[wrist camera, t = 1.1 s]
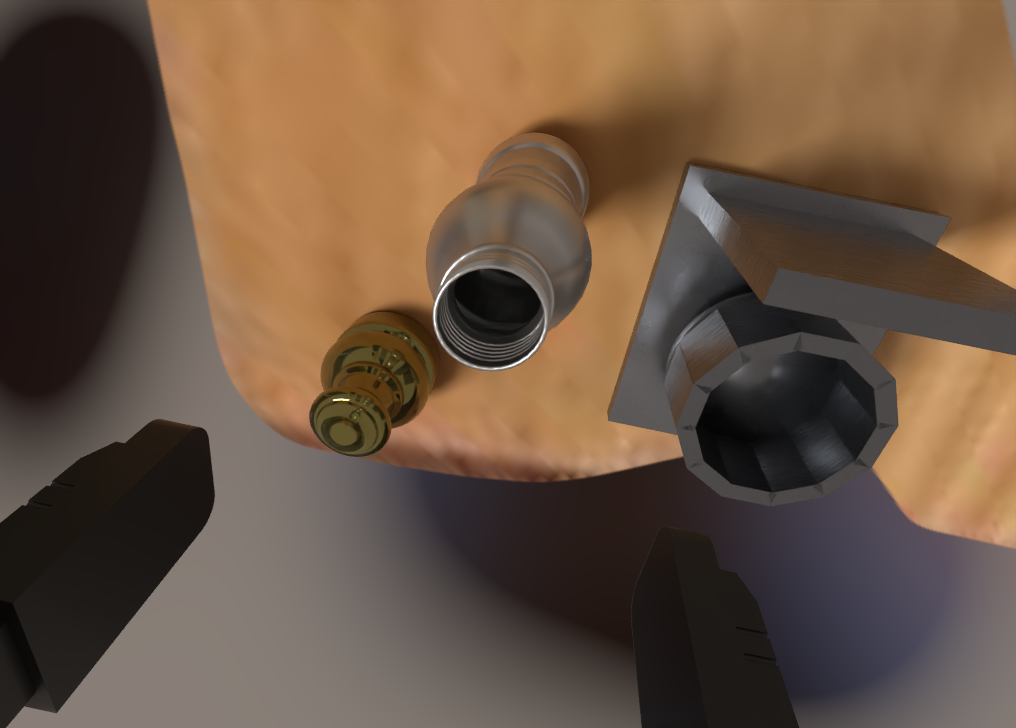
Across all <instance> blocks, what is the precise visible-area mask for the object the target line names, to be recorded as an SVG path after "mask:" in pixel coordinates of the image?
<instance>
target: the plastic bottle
mask: <svg viewBox="0 0 1016 728" xmlns="http://www.w3.org/2000/svg"><path fill="white" fill-rule="evenodd" d="M589 195H590V182H589V177H588V173H587V170H586V167H585V165H584V163H583V160H582V159H581V158H580V156H579V155H578V153H577V152H576V151H575V150H574V149H573V148H572V147H571V146H570V145H569V144H568V143H566V142H565V141H563V140H561V139H559V138H558V137H555V136H552V135H549V134H545V133H535V132H534V133H525V134H520V135H517V136H514V137H511V138H509V139H508V140H506V141H504V142H502V143H501V144H500V145H498V146H497V147H496V148H495V149H494V150H493V151H492V152H491V153H490V154H489V156H488V157H487V158H486V159H485V161H484V163H483V165H482V167H481V169H480V171H479V174H478V177H477V181H476V184H475V185H473V186H472V187H470V188H468V189H466V190H465V191H463V192H462V193H461V194H459V195H458V196H457V197H456V198H455V199H454V200H453V201H451V202H450V203H449V204H448V205H447V206H446V207H445V209H444V210H443V211H442V213H441V214H440V215H439V217H438V218H437V220H436V222H435V224H434V226H433V228H432V230H431V232H430V236H429V240H428V244H427V248H426V271H427V278H428V284H429V288H430V291H431V293H432V296H433V299H434V304H433V316H432V320H433V326H434V331H435V333H436V336H437V339H438V340H439V342H440V344H441V345H442V347H443V348H444V349H445V350H446V351H447V353H448V354H449V355H450V356H451V357H453V358H454V359H455V360H457V361H458V362H460V363H462V364H464V365H466V366H468V367H471V368H474V369H477V370H483V371H502V370H506V369H511V368H513V367H516V366H518V365H520V364H522V363H523V362H525V361H526V360H528V359H529V358H531V357H532V356H533V355H534V354H535V353H536V352H537V351H538V349H539V348H540V346H541V345H542V343H543V341H544V340H545V337H546V335H547V332H549V331H550V330H552V329H553V328H554V327H556V326H557V325H558V324H559V323H560V322H561V321H562V320H563V319H564V318H565V317H566V316H567V315H568V314H569V313H570V312H571V311H572V310H573V309H574V308H575V306H576V305H577V303H578V302H579V300H580V299H581V297H582V296H583V293H584V291H585V289H586V286H587V284H588V281H589V276H590V271H591V266H592V262H591V246H590V241H589V237H588V233H587V229H586V226H585V224H584V222H583V220H582V218H583V216H584V214H585V211H586V208H587V206H588V201H589Z"/></svg>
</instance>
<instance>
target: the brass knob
mask: <svg viewBox="0 0 1016 728" xmlns="http://www.w3.org/2000/svg"><path fill="white" fill-rule="evenodd" d="M438 370H439V354H438V350H437V347H436V345H435V343H434V341H433V339H432V337H431V336H430V335H429V333H428V332H427V331H426V330H425V329H424V328H423V327H422V326H421V325H419V324H418V323H417V322H415V321H414V320H412V319H410V318H408V317H406V316H403V315H401V314H397V313H393V312H374V313H370V314H367V315H364V316H362V317H360V318H359V319H357V320H356V321H355V322H353V323H352V324H351V325H350V327H349V328H348V329H347V330H346V331H345V332H344V333H343V334H342V335H341V336H340V337H339V338H338V340H337V342H336V343H335V344H334V345H333V346H332V347H331V348H330V349H329V350H328V352H327V353H326V355H325V357H324V359H323V362H322V366H321V383H322V387H323V390H324V392H322V393H321V394H320V395H319V396H318V397H317V398H316V399H315V400H314V402H313V404H312V406H311V409H310V413H309V420H310V425H311V428H312V430H313V432H314V434H315V435H316V437H317V438H318V439H319V440H320V441H321V442H322V443H323V444H324V445H325V446H326V447H328V448H329V449H331V450H333V451H335V452H337V453H339V454H342V455H345V456H350V457H365V456H369V455H372V454H374V453H376V452H378V451H379V450H381V449H382V448H383V447H384V445H385V444H386V443H387V441H388V439H389V437H390V434H391V429H392V428H397V427H400V426H403V425H405V424H407V423H409V422H410V421H412V420H413V419H415V418H416V417H417V416H418V415H419V414H420V412H421V411H422V410H423V408H424V406H425V404H426V402H427V399H428V395H429V394H430V392H431V390H432V388H433V385H434V382H435V379H436V376H437V374H438Z"/></svg>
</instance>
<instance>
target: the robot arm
mask: <svg viewBox="0 0 1016 728" xmlns="http://www.w3.org/2000/svg"><path fill="white" fill-rule="evenodd" d="M213 483H214V482H213V473H212V464H211V456H210V447H209V438H208V435H207V432H206V431H205V430H204V429H203V428H200V427H195V426H190V425H186V424H181V423H176V422H172V421H167V420H162V419H156V420H153V421H151V422H150V423H148V424H147V425H146V426H145V427H143V428H142V429H141V430H140V431H139V432H137V433H136V434H135V435H134V436H133V437H132V438H130V439H129V440H128V441H127V442H126V443H120V442H114V443H112V444H110V445H108V446H106V447H104V448H102V449H99V450H97V451H95V452H93V453H91V454H89V455H87V456H84V457H82V458H80V459H79V460H78V461H76V462H75V463H74V464H73V465H72V466H70V467H69V468H68V469H67V470H65V471H64V472H63V473H62V474H60V475H59V476H58V477H57V478H55V479H54V480H53V481H52V484H51V486H46V487H44V488H43V489H42V490H40V491H39V492H38V493H37V494H36V495H34V496H33V497H32V498H31V499H30V500H29V502H28V504H27V505H26V506H24V505H22V506H21V507H19V508H18V509H17V510H16V511H14V512H13V513H12V514H11V515H10V516H8V517H7V518H6V519H5V520H3V521H2V522H1V523H0V728H6V727H7V726H8V724H9V723H10V722H11V721H12V720H13V719H14V718H15V716H16V715H17V714H18V713H19V712H20V710H21V709H22V708H23V707H24V706H26V707H30V708H35V709H39V710H44V711H49V712H53V713H57V712H58V711H59V710H60V708H61V707H62V706H63V704H64V703H65V702H66V701H67V699H68V698H69V697H70V696H71V694H72V693H73V692H74V691H75V689H76V688H77V687H78V685H79V684H80V683H81V682H82V680H83V679H84V678H85V677H86V675H87V674H88V673H89V672H90V671H91V669H92V668H93V667H94V665H95V664H96V663H97V662H98V660H99V659H100V658H101V657H102V655H103V654H104V653H105V652H106V650H107V649H108V648H109V647H110V645H111V644H112V643H113V642H114V640H115V639H116V638H117V636H118V635H119V634H120V633H121V631H122V630H123V629H124V628H125V626H126V625H127V624H128V622H129V621H130V620H131V619H132V618H133V616H134V615H135V614H136V612H137V611H138V610H139V609H140V608H141V606H142V605H143V604H144V602H145V601H146V600H147V599H148V597H149V596H150V595H151V594H152V592H153V591H154V590H155V589H156V587H157V586H158V585H159V584H160V582H161V581H162V580H163V578H164V577H165V576H166V575H167V573H168V572H169V571H170V570H171V568H172V567H173V566H174V565H175V563H176V562H177V561H178V560H179V558H180V557H181V556H182V555H183V553H184V552H185V551H186V550H187V548H188V547H189V546H190V544H191V543H192V542H193V541H194V539H195V538H196V537H197V536H198V534H199V533H200V532H201V531H202V529H203V528H204V526H205V525H206V523H207V521H208V519H209V517H210V514H211V512H212V509H213V504H214V498H215V492H214V484H213ZM631 609H632V611H631V620H632V632H633V642H634V652H635V663H636V672H637V681H638V682H637V683H638V693H639V703H640V714H641V724H642V728H799V726H798V723H797V720H796V717H795V714H794V711H793V708H792V705H791V702H790V699H789V696H788V693H787V690H786V687H785V684H784V681H783V678H782V675H781V672H780V669H779V666H776V657H775V654H774V651H773V648H772V645H771V642H770V639H767V630H766V627H765V624H764V621H763V618H762V615H761V612H760V609H759V606H758V603H757V601H756V599H755V598H754V597H753V596H752V594H751V593H750V591H749V590H748V588H747V587H746V586H745V584H744V583H743V582H742V580H741V579H740V577H739V576H738V575H737V573H734V572H730V571H725V570H720V568H719V565H718V561H717V557H716V554H715V551H714V547H713V543H712V541H711V539H710V537H709V536H708V535H706V534H702V533H697V532H693V531H688V530H683V529H678V528H673V527H669V526H662V527H661V528H660V530H659V531H658V533H657V535H656V538H655V540H654V542H653V545H652V547H651V550H650V552H649V554H648V557H647V559H646V561H645V564H644V566H643V569H642V571H641V573H640V575H639V578H638V580H637V583H636V585H635V589H634V593H633V599H632V608H631Z"/></svg>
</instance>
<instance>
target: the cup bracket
mask: <svg viewBox="0 0 1016 728" xmlns="http://www.w3.org/2000/svg"><path fill="white" fill-rule="evenodd" d="M950 220H951V218H949V217H947V216H945V215H943V214H940V213H937V212H932V211H927V210H922V209H917V208H912V207H907V206H902V205H897V204H892V203H887V202H882V201H877V200H872V199H867V198H862V197H857V196H852V195H847V194H842V193H837V192H832V191H827V190H822V189H817V188H812V187H807V186H802V185H798V184H793V183H788V182H783V181H778V180H773V179H768V178H763V177H758V176H753V175H748V174H743V173H738V172H733V171H728V170H723V169H718V168H713V167H708V166H703V165H698V164H693V163H688V162H686V165H685V169H684V172H683V175H682V178H681V181H680V184H679V187H678V191H677V194H676V197H675V200H674V203H673V206H672V210H671V213H670V216H669V219H668V222H667V225H666V228H665V232H664V235H663V238H662V241H661V244H660V247H659V251H658V254H657V257H656V260H655V263H654V266H653V269H652V273H651V276H650V279H649V282H648V285H647V288H646V291H645V295H644V298H643V301H642V304H641V307H640V310H639V314H638V317H637V320H636V323H635V326H634V329H633V332H632V336H631V339H630V342H629V345H628V348H627V351H626V354H625V358H624V361H623V364H622V367H621V370H620V373H619V377H618V380H617V383H616V386H615V389H614V392H613V395H612V399H611V402H610V405H609V408H608V411H607V413H608V421H612V422H617V423H622V424H627V425H632V426H636V427H641V428H646V429H651V430H656V431H661V432H666V433H670V434H675V435H678V438H679V441H680V445H681V449H682V452H683V456H684V460H685V463H686V467H687V469H688V470H690V471H691V472H692V473H693V474H695V475H696V476H697V477H698V478H699V479H701V480H702V481H703V482H704V483H706V484H707V485H708V486H709V487H711V488H712V489H713V490H714V491H716V492H717V493H718V494H719V495H721V496H723V497H728V498H733V499H737V500H742V501H747V502H752V503H757V504H762V505H766V506H774V505H781V504H785V503H792V502H797V501H803V500H808V499H814V498H820V497H823V496H826V495H828V494H829V493H831V492H833V491H834V490H836V489H838V488H839V487H841V486H842V485H844V484H846V483H847V482H849V481H851V480H852V479H854V478H856V477H857V476H859V475H861V474H862V473H864V472H866V471H867V470H869V469H871V468H872V466H873V464H874V463H875V461H876V460H877V458H878V457H879V455H880V454H881V452H882V450H883V449H884V447H885V446H886V444H887V443H888V441H889V440H890V438H891V436H892V435H893V433H894V432H895V430H896V429H897V427H898V411H897V394H896V380H895V378H894V377H893V376H892V375H891V374H890V373H889V372H888V371H887V370H886V369H885V368H884V367H883V366H882V365H881V364H880V363H879V362H878V361H877V360H876V359H875V358H874V357H873V354H874V353H875V351H876V349H877V347H878V346H879V344H880V342H881V340H882V339H883V337H884V335H885V333H886V332H887V330H893V331H898V332H903V333H908V334H913V335H918V336H923V337H928V338H933V339H937V340H942V341H947V342H952V343H957V344H962V345H967V346H972V347H977V348H982V349H987V350H992V351H996V352H1001V353H1006V354H1011V355H1016V289H1014V288H1012V287H1010V286H1008V285H1006V284H1004V283H1003V282H1001V281H999V280H997V279H995V278H993V277H991V276H990V275H988V274H986V273H984V272H982V271H980V270H979V269H977V268H975V267H973V266H971V265H969V264H967V263H966V262H964V261H962V260H960V259H958V258H956V257H954V256H953V255H951V254H949V253H947V252H945V251H943V250H941V249H940V248H938V247H936V244H937V242H938V241H939V239H940V237H941V235H942V234H943V232H944V230H945V228H946V227H947V225H948V223H949V221H950Z"/></svg>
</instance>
